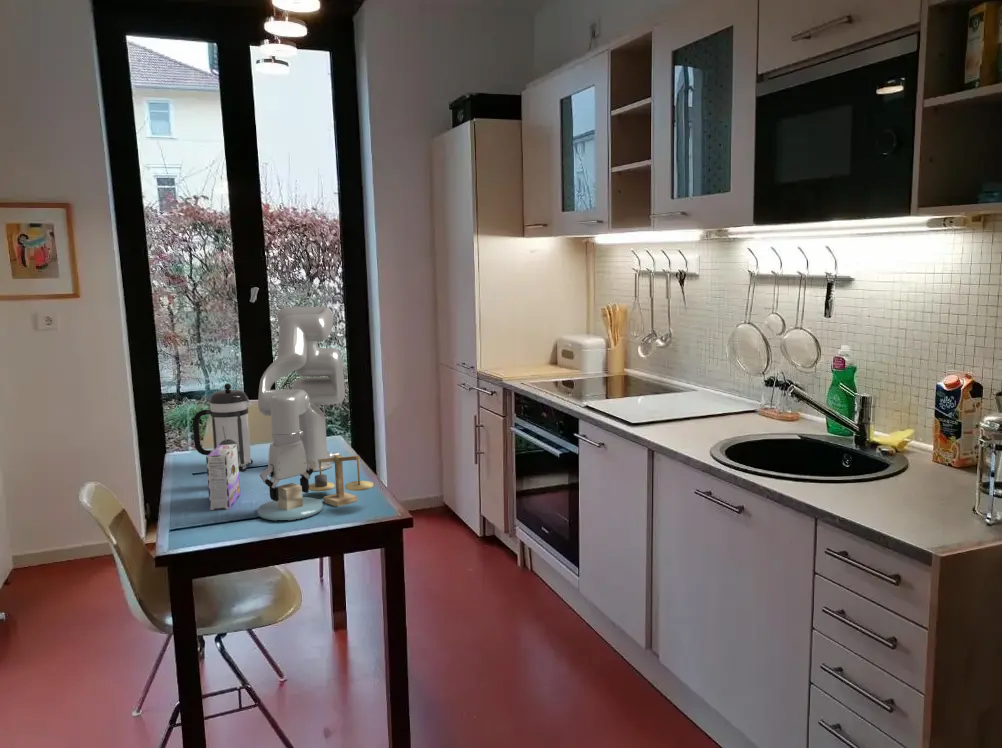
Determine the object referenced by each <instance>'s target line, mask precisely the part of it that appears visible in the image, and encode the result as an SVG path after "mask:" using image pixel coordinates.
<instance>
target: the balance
mask: <svg viewBox="0 0 1002 748" xmlns="http://www.w3.org/2000/svg"><path fill="white" fill-rule="evenodd" d="M360 460H361V459H360V455H351V456H343V455H342V454H339V455H337V456H334V458H324V459H318V463H319V470H320V471H319V474H316V475H315V476H314V482H313V483H311V484H309V489H308V491H309V492H310V491H311V492H325V491H330V490H332V489H334V488H335V493H333V494H330V495H327V496H323V502H324V503H325V504H328V505H331V506H333V505H334V507H336V506H337V508H339V507H342V506H345V504H346V505H349V504H352V502H353V503H356V502H358V495H355V494H352V493H350V492H349V493H348V492H346V491H345V489H346V490H347V491H353V492H359V491H366V490H370V489H372V488H373V487H374V482H372V481H370V480H369V481H368V480H360V479H361V476H360ZM344 461H345V462H346V461H357V466H356V467H357V480H354V481H351V482H348V483H345V485H344V473H343V472H344V471H343V470H344V469H343V467H344V466H343V462H344ZM322 462H332V463H334V475H335V477H334V478H335V483H334V482H331V481H328V476H327V474H322V470H321V463H322ZM344 488H345V489H344ZM355 501H356V502H355ZM338 506H339V507H338Z"/></svg>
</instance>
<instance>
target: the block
mask: <svg viewBox="0 0 1002 748" xmlns="http://www.w3.org/2000/svg"><path fill="white" fill-rule="evenodd" d="M277 487H278V494H279V500H278V507H280V508H282V509H285V510H291V509H295V508H298V507H302V506H303V500H302V497H303V492H302V486H300V484H296V483H295V482H294V483H293V482H290V483H286V484H281V485H277Z"/></svg>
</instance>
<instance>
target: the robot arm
mask: <svg viewBox="0 0 1002 748" xmlns="http://www.w3.org/2000/svg"><path fill="white" fill-rule="evenodd" d="M276 317H277V318H276V319H277V322H278V325H279V334H278V345H277V358H276V359H275V360H274V361H273V362H272V363H271V364H270V365H269V366H268V367H267V368H266V370H265V371H264V372H263V374H262V376H261V378H260V381H259V388H258V395H257V396H258V397H257V398H258V400H257V401H258V402H257V403H258V410H259V412H260V414H262V415H263V416H268V417H269V416H270V419H271V432H272V433H271V435H272V443H270V445H269V448H268V456H267V457H268V459H267V460H268V461H267V468H266V469H265V470H263V471H262V472H260V474H259V477H260V478H261V481H262V482H263V483H264V484H265V485H267V487H269V489H268V490H269V498H270V500H271V501H278V500H279V494H278V485H279V484H278V483H280V481H281V480H285V479H286V480H287V479H289V478H294V477H298V476H300V478H299V485H300V486H302V493H304V494H308V493H309V492H310V490H308V489H309V485H310V484H309V482H310V481H309V480H310V479H311V475H312V474H313V472H318V471H319V472H320V470H319V463H318V459H324V458H334V456H337V455H340V453H339V452H338V451H335V452H331V451H330V452H329V451H328V446H327V444H328V442H327V427H326V424H327V423H326V416H325V414H324V412H323V411H322V410H321V409H320V407H319V406H321V405H323V406H324V405H325V406H326V405H337V404H341V403H343V401H344V400H345V397H346V396H345V395H346V388H345V387H346V386H345V378H344V366H343V357H342V354H341V352H340V350H338V349H337V348H334V347H319V344H318V343H319V342H324V341H327V340H328V338H329V336H330V333H331V332H332V329H333V327H334V326H333V325H334V315H333V312H332V310H331V308H329V307H327V306H291V307H288V306H287V307H282V308H280V309H279V310H278V312H277V315H276ZM293 372H295V373H296V375H298V376H300V377H302V378H298V379H296V380H295V381H294V382H293V384H292V389H272V386H273V385H274V384H275V382H277V381H278V380H279V379H281V378H282V377H285V376H286V375H289V374H290V373H293ZM332 467H333V462H322V463H321V471H323V470H328V469H331V468H332ZM269 477H270V478H269Z"/></svg>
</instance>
